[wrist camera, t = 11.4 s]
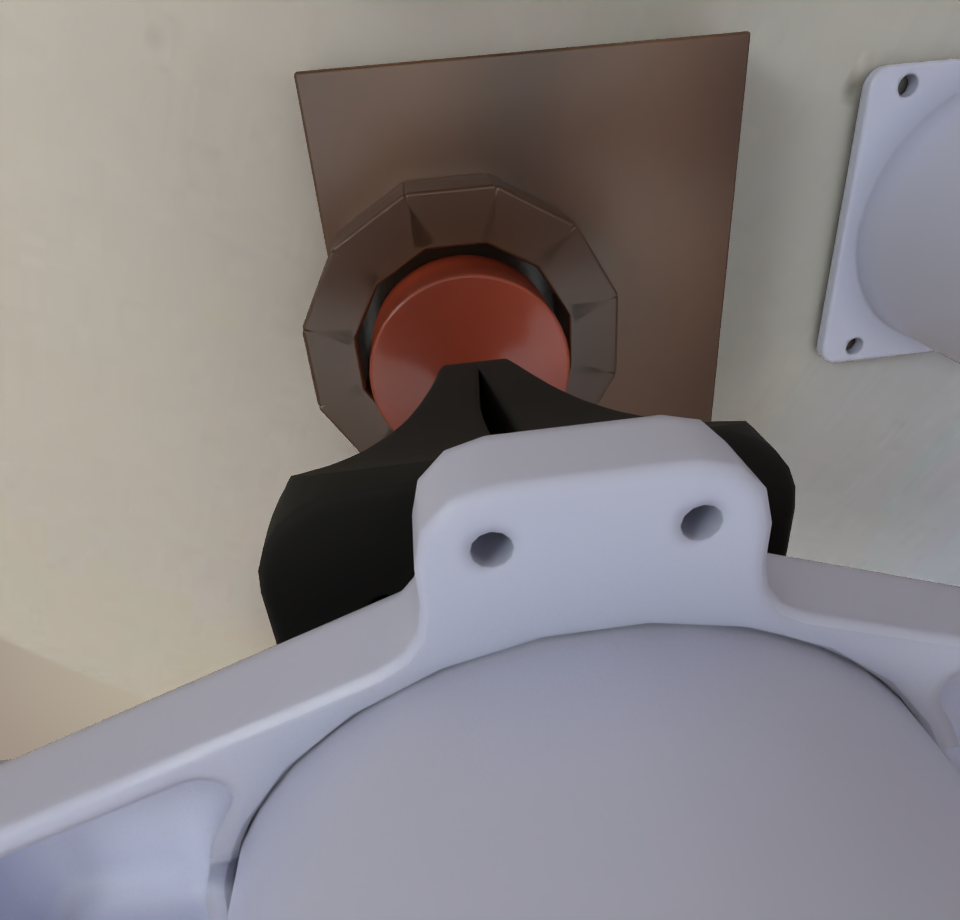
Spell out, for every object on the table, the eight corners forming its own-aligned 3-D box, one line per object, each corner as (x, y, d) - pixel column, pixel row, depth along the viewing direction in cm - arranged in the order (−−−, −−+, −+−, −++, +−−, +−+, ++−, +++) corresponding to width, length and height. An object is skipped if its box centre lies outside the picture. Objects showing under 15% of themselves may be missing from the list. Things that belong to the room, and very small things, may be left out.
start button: (552, 244, 16) (569, 263, 14) (556, 418, 18) (571, 450, 16) (357, 264, 15) (353, 286, 14) (386, 438, 18) (385, 473, 16)
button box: (712, 34, 17) (792, 26, 14) (679, 455, 23) (729, 524, 20) (277, 73, 16) (246, 76, 13) (360, 494, 23) (353, 572, 19)
